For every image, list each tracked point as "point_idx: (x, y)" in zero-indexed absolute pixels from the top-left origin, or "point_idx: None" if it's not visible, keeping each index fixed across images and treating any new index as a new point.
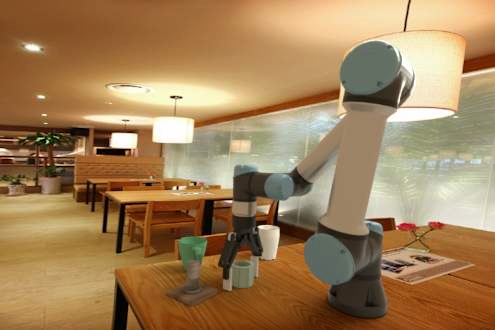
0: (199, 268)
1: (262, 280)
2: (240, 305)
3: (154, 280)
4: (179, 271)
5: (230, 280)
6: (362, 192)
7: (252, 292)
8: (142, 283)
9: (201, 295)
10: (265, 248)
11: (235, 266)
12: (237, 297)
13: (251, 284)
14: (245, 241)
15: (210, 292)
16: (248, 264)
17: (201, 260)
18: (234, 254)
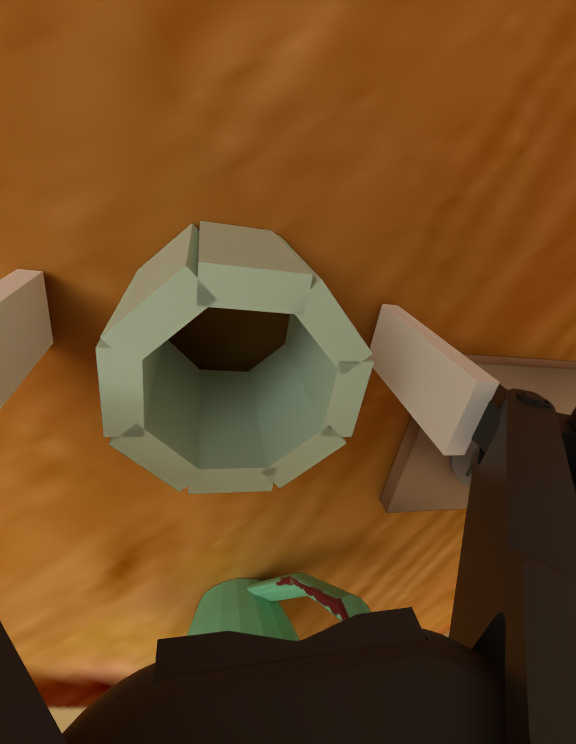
0: None
1: (48, 189)
2: (552, 133)
3: (415, 591)
4: (293, 605)
5: (435, 334)
6: None
7: (334, 152)
8: (452, 593)
9: (538, 382)
10: None
11: (352, 405)
12: (450, 216)
13: (227, 226)
14: (340, 731)
15: (495, 369)
16: (146, 362)
17: (349, 614)
18: (562, 486)
